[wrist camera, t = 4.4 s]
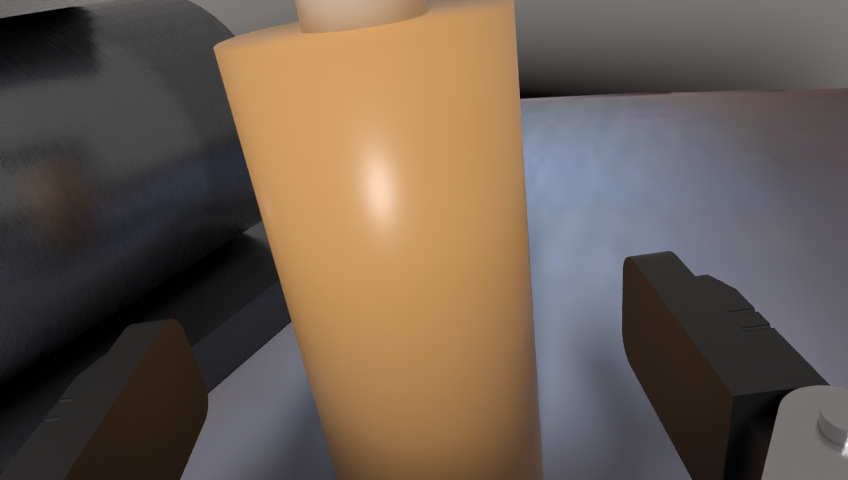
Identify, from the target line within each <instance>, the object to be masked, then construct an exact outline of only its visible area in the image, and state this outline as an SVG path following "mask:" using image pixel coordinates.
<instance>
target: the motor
mask: <svg viewBox="0 0 848 480" xmlns="http://www.w3.org/2000/svg"><path fill="white" fill-rule="evenodd" d="M233 37H235V36H234V35H233V34H232V33H231V31H229V29H228V28H227V27H226V26H225V25H223V24H222V23H221V22H220V21H219V20H218V19H216V18H215V17H214V16H213V15H211V14H210V13H208V12H207V11H206V10H204V9H203V8H202V7H200V6H198V5H196V4H194V3H192V2H190V1H188V0H0V475H1V474H2V472H3V471H4V470H5V468H6V467H7V466H8V465H9V463H10V462H11V461H12V459H13V458H14V457H15V455H16V454H17V453H18V452H19V450H20V449H21V448H22V446H23V445H24V444H25V443H26V441H27V440H28V439H29V437H30V436H31V435H32V433H33V432H34V431H35V430H36V428H37V427H38V426H39V424H40V423H44V422H45V419H44V418H45V417H46V415H47V414H48V413H49V411H50V410H51V409H52V408H53V406H54V405H55V404H58V403H59V398H60V397H61V396H62V395H63V393H64V392H65V391H66V389H67V388H68V387H69V386H70V384H71V383H72V382H73V380H74V379H75V378H76V377H77V376H78V375H79V374H80V373H82V372H83V371H84V370H85V369H87V368H88V367H89V366H90V365H92V364H93V363H94V362H96V361H97V360H98V359H99V358H101V357H102V356H106V354H107V353H108V351H109V350H110V349H111V347H112V346H113V345H114V343H115V342H116V341H117V339H118V338H119V337H120V335H121V334H122V333H123V331H124V330H125V329H126V328H127V327H128V326H129V325H131V324H137V323H144V322H151V321H159V320H166V319H175V320H177V321H178V322H179V323H180V324H181V326H182V328H183V330H184V332H185V335H186V337H187V340H188V342H189V345H190V347H191V350H192V352H193V354H194V357H195V359H196V362H197V364H198V367H199V369H200V372H201V374H202V377H203V379H204V382H205V385H206V388H207V393H208V392H209V391H211V390H212V389H213V388H214V387H215V386H216V385H218V384H219V383H220V382H221V381H222V380H223V379H224V378H226V377H227V376H228V375H229V374H230V373H231V372H233V371H234V370H235V369H236V368H237V367H238V366H239V365H241V364H242V363H243V362H244V361H245V360H246V359H248V358H249V357H250V356H251V355H252V354H253V353H255V352H256V351H257V350H258V349H259V348H260V347H261V346H263V345H264V344H265V343H266V342H267V341H268V340H270V339H271V338H272V337H273V336H274V335H275V334H276V333H278V332H279V331H280V330H281V329H282V328H283V327H285V326H286V325H287V324H288V323H289V322H290V321H291V317H290V314H289V310H288V307H287V303H286V300H285V296H284V293H283V289H282V286H281V282H280V279H279V275H278V272H277V269H276V265H275V262H274V258H273V255H272V251H271V248H270V244H269V241H268V237H267V234H266V230H265V227H264V223H263V220H262V216H261V213H260V209H259V206H258V202H257V199H256V195H255V192H254V188H253V185H252V181H251V178H250V174H249V171H248V167H247V164H246V160H245V157H244V153H243V150H242V146H241V143H240V139H239V136H238V132H237V129H236V125H235V122H234V118H233V115H232V111H231V108H230V104H229V101H228V97H227V94H226V90H225V87H224V83H223V80H222V76H221V73H220V69H219V66H218V62H217V59H216V55H215V52H214V48H213V47H214V46H215V45H216V44H218V43H220V42H222V41H225V40H227V39H230V38H233Z"/></svg>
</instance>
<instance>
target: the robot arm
mask: <svg viewBox="0 0 848 480" xmlns="http://www.w3.org/2000/svg"><path fill="white" fill-rule="evenodd" d="M622 335H623V343H624V348H625V352H626V355H627V358H628V361H629V364H630V366H631V368H632V369H633V371H634V373H635V375H636V377H637V379H638V380H639V382H640V384H641V386H642V388H643V390H644V392H645V393H646V395H647V397H648V399H649V401H650V403H651V404H652V406H653V408H654V410H655V412H656V414H657V415H658V417H659V419H660V421H661V423H662V425H663V427H664V428H665V430H666V432H667V434H668V436H669V438H670V439H671V441H672V443H673V445H674V447H675V449H676V450H677V452H678V454H679V456H680V458H681V460H682V462H683V463H684V465H685V467H686V469H687V471H688V473H689V474H690V476H691V478H692V480H848V388H843V387H837V386H830V385H829V384H828V383H827V382H826V381H825V380H824V379H823V378H822V377H821V376H820V375H819V374H818V373H817V372H816V370H815V369H814V368H813V367H812V366H811V365H810V364H809V363H808V362H807V361H806V360H805V359H804V358H803V357H802V356H801V355H800V354H799V353H798V352H797V351H796V350H795V349H794V348H793V347H792V346H791V345H790V344H789V343H788V342H787V341H786V340H785V339H784V338H783V337H782V336H781V335H780V334H779V333H778V332H777V331H776V330H775V329H774V328H771V327H770V323H769V322H768V321H767V320H766V319H765V318H764V317H763V316H762V315H761V314H760V313H759V312H755V310H754V307H753V306H752V305H751V304H750V303H749V302H748V301H747V300H746V299H745V298H744V297H743V296H742V295H741V294H740V293H739V292H738V291H737V290H736V289H735V288H733V287H731V286H729V285H727V284H725V283H723V282H721V281H719V280H717V279H715V278H713V277H711V276H709V275H702V276H694V275H693V274H692V272H691V271H690V270H689V269H688V268H687V267H686V266H685V265H684V263H683V262H682V261H681V260H680V259H679V258H678V257H677V256H676V254H674V253H673V252H671V251H667V252H659V253H652V254H645V255H638V256H630V257H627V258H626V259H625V261H624V265H623V302H622ZM207 411H208V394H207V388H206V385H205V382H204V379H203V377H202V374H201V372H200V369H199V367H198V364H197V362H196V359H195V357H194V354H193V352H192V350H191V347H190V345H189V342H188V340H187V337H186V335H185V332H184V330H183V328H182V326H181V324H180V323H179V322H178V321H177V320H175V319H166V320H159V321H151V322H144V323H137V324H131V325H129V326H128V327H127V328H126V329H125V330H124V331H123V333H122V334H121V335H120V337H119V338H118V339H117V341H116V342H115V343H114V345H113V346H112V347H111V349H110V350H109V351H108V353H107V354H106V356H102V357H101V358H99V359H98V360H97V361H96V362H94V363H93V364H92V365H90V366H89V367H88V368H87V369H85V370H84V371H83V372H82V373H80V374H79V375H78V376H77V377H76V378H75V379H74V380H73V382H72V383H71V384H70V386H69V387H68V388H67V389H66V391H65V392H64V393H63V395H62V396H61V397H60V398H59V403H58V404H55V405H54V406H53V408H52V409H51V410H50V411H49V413H48V414H47V415H46V417H45V418H44V419H45V422H44V423H40V424H39V426H38V427H37V428H36V430H35V431H34V432H33V433H32V435H31V436H30V437H29V439H28V440H27V441H26V443H25V444H24V445H23V446H22V448H21V449H20V450H19V452H18V453H17V454H16V455H15V457H14V458H13V459H12V461H11V462H10V463H9V465H8V466H7V467H6V468H5V470H4V471H3V472H2V474H1V475H0V480H180V478H181V476H182V474H183V471H184V469H185V467H186V464H187V462H188V460H189V457H190V455H191V453H192V450H193V448H194V446H195V443H196V441H197V438H198V436H199V434H200V431H201V429H202V427H203V424H204V422H205V419H206V416H207Z"/></svg>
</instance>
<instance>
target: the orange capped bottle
mask: <svg viewBox="0 0 848 480" xmlns="http://www.w3.org/2000/svg"><path fill="white" fill-rule="evenodd" d="M295 4H296V9H297V14H298V19H299V21H297V22H292V23H288V24H283V25H278V26H274V27H270V28H265V29H262V30H258V31H253V32H250V33H246V34H243V35H240V36H236V37H233V38H230V39H227V40H225V41H222V42H220V43H218V44H216V45H215V46H214V47H213V48H214V52H215V55H216V59H217V62H218V66H219V69H220V73H221V76H222V80H223V83H224V87H225V90H226V94H227V97H228V101H229V104H230V108H231V111H232V115H233V118H234V122H235V125H236V129H237V132H238V136H239V139H240V143H241V146H242V150H243V153H244V157H245V160H246V164H247V167H248V171H249V174H250V178H251V181H252V185H253V188H254V192H255V195H256V199H257V202H258V206H259V209H260V213H261V216H262V220H263V223H264V227H265V230H266V234H267V237H268V241H269V244H270V248H271V251H272V255H273V258H274V262H275V265H276V269H277V272H278V275H279V279H280V282H281V286H282V289H283V293H284V296H285V300H286V303H287V307H288V310H289V314H290V317H291V321H292V324H293V328H294V331H295V335H296V338H297V342H298V345H299V349H300V352H301V356H302V359H303V363H304V366H305V370H306V373H307V377H308V380H309V384H310V387H311V391H312V394H313V398H314V401H315V405H316V408H317V412H318V415H319V419H320V422H321V426H322V429H323V433H324V436H325V440H326V443H327V447H328V450H329V454H330V457H331V461H332V464H333V468H334V471H335V475H336V478H337V480H543V467H542V451H541V435H540V419H539V402H538V386H537V370H536V353H535V337H534V321H533V305H532V288H531V272H530V256H529V239H528V223H527V207H526V191H525V174H524V158H523V142H522V125H521V109H520V94H519V77H518V61H517V45H516V29H515V12H514V1H513V0H435V1H426V0H295Z"/></svg>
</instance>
